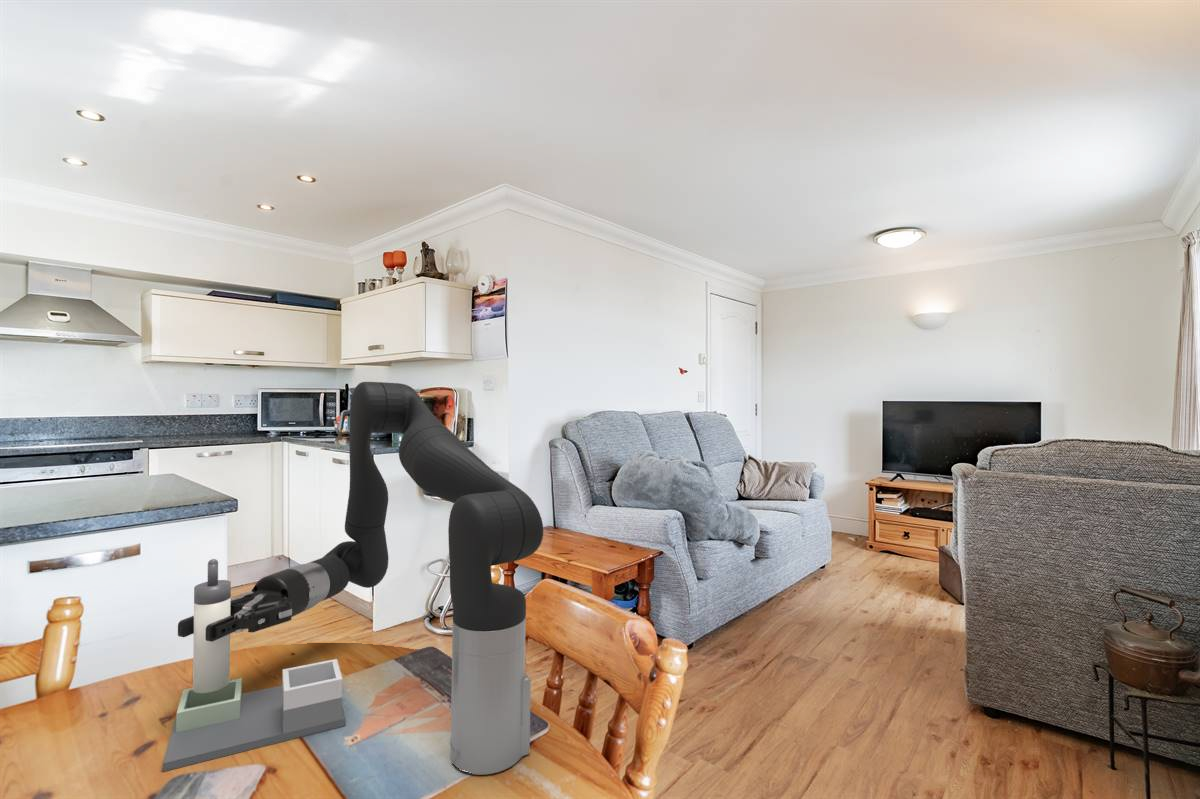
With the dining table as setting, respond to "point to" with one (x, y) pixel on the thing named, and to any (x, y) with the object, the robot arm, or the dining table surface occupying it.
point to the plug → (207, 655)
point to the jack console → (255, 715)
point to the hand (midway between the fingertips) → (194, 631)
